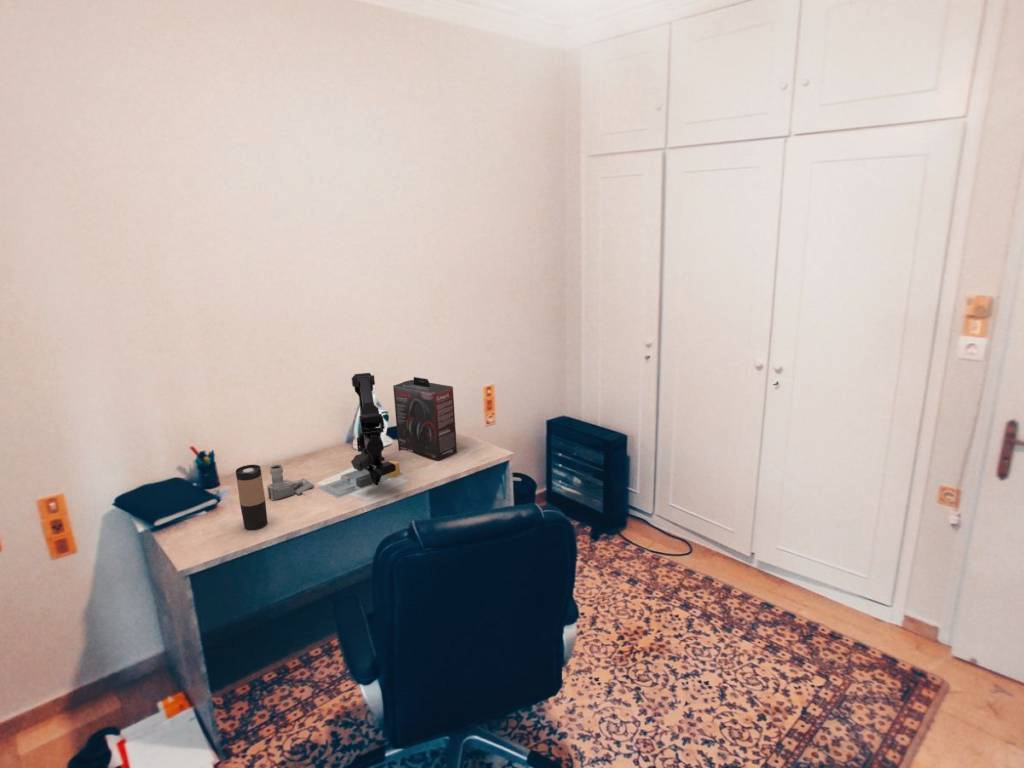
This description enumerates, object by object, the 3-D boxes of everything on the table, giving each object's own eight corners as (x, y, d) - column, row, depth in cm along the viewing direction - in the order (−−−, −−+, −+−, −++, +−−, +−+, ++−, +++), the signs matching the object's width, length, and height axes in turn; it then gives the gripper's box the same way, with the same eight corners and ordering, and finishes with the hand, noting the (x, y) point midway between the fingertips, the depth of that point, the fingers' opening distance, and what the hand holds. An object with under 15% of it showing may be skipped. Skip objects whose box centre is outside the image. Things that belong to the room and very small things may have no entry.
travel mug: (248, 520, 207) (239, 465, 202) (271, 519, 208) (263, 463, 203) (240, 531, 200) (231, 474, 195) (264, 529, 201) (256, 472, 196)
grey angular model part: (262, 466, 223) (301, 455, 233) (265, 496, 226) (304, 484, 236) (271, 472, 217) (312, 461, 227) (275, 503, 220) (315, 491, 230)
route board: (317, 489, 230) (316, 480, 229) (382, 467, 250) (381, 458, 249) (337, 500, 221) (336, 490, 220) (403, 476, 241) (402, 467, 240)
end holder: (326, 490, 227) (326, 485, 227) (343, 484, 232) (343, 479, 232) (338, 496, 222) (337, 491, 221) (355, 489, 227) (355, 485, 226)
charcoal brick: (356, 485, 231) (355, 478, 230) (372, 480, 235) (371, 472, 235) (361, 488, 228) (360, 480, 228) (376, 482, 233) (376, 474, 233)
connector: (385, 475, 240) (384, 463, 238) (393, 472, 242) (393, 460, 241) (391, 478, 237) (390, 465, 236) (400, 474, 240) (399, 462, 238)
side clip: (341, 481, 235) (340, 475, 234) (364, 473, 242) (363, 467, 241) (348, 485, 231) (347, 478, 231) (371, 476, 239) (370, 470, 238)
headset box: (396, 450, 269) (391, 376, 260) (417, 442, 278) (412, 370, 270) (438, 462, 254) (433, 384, 246) (458, 452, 264) (454, 378, 256)
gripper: (339, 445, 224) (343, 485, 228) (368, 457, 211) (372, 499, 215) (365, 437, 232) (369, 475, 236) (395, 448, 219) (398, 489, 223)
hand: (376, 485), depth 227 cm, fingers closed
